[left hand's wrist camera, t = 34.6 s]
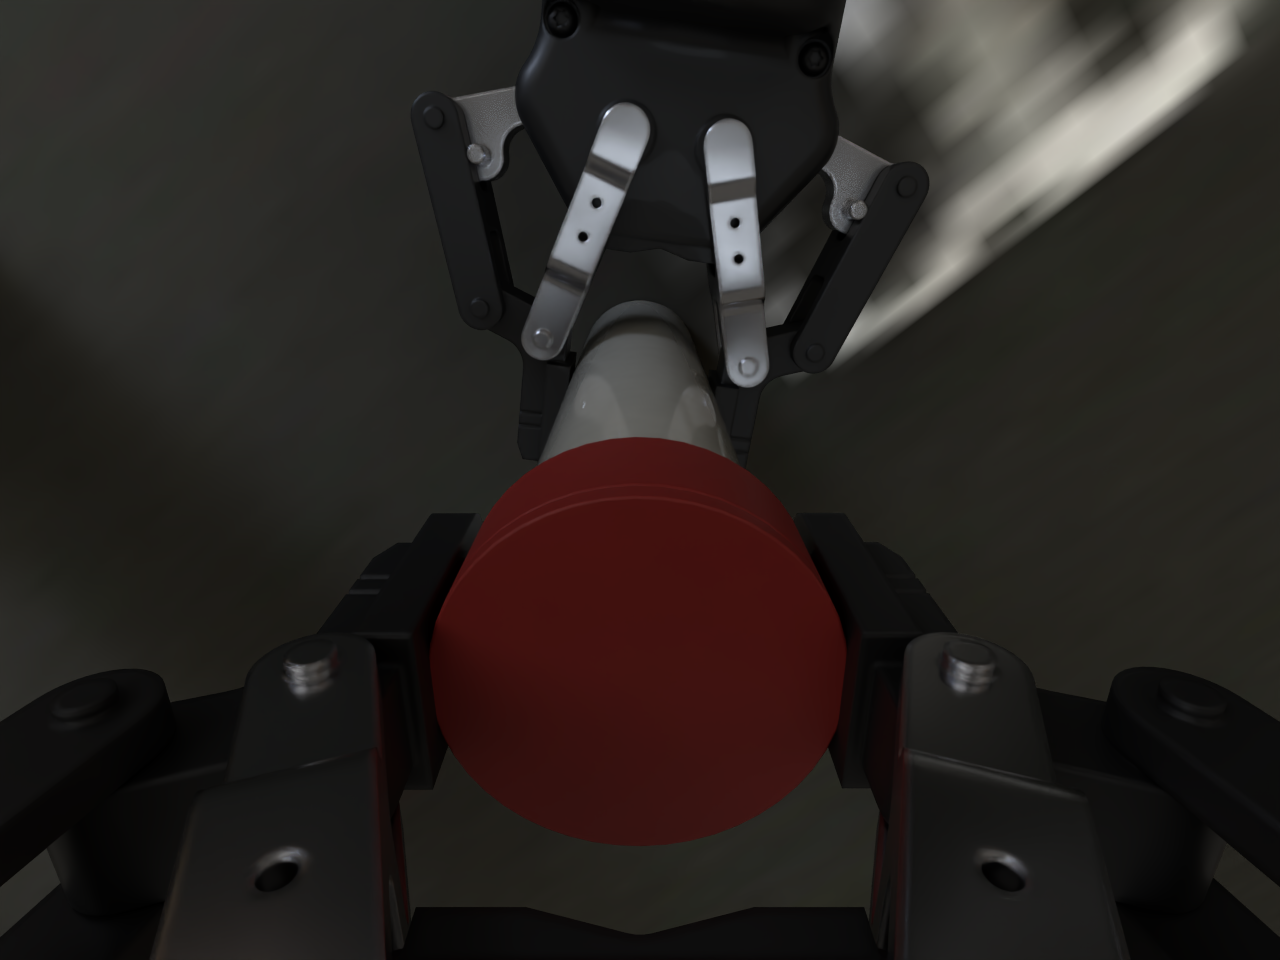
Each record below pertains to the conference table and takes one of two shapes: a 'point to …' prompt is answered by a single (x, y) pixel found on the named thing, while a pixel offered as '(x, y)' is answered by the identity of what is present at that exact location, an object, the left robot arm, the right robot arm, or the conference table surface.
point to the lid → (638, 647)
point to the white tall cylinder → (639, 385)
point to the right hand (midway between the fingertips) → (627, 479)
